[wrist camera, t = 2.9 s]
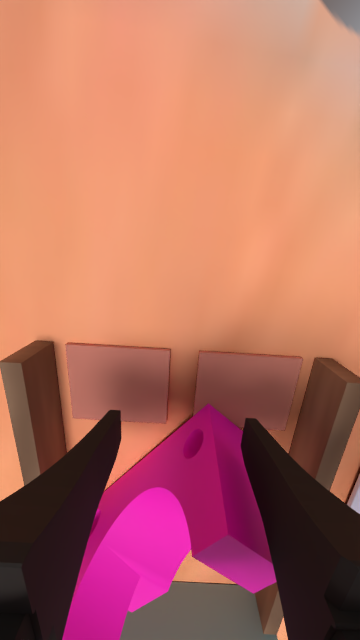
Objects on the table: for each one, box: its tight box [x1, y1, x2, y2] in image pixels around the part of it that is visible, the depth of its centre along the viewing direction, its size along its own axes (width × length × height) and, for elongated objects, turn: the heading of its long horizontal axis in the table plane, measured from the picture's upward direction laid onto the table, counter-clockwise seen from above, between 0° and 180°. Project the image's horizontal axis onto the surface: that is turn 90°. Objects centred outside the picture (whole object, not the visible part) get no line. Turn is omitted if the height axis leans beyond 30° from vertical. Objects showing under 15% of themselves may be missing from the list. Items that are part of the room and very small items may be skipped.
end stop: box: [120, 582, 278, 640], centre depth 21 cm, size 20×1×4 cm, turn 86°
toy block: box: [62, 403, 276, 640], centre depth 14 cm, size 15×6×8 cm, turn 137°
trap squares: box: [66, 343, 303, 430], centre depth 15 cm, size 16×6×1 cm, turn 86°
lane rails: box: [0, 341, 360, 635], centre depth 17 cm, size 20×26×3 cm
